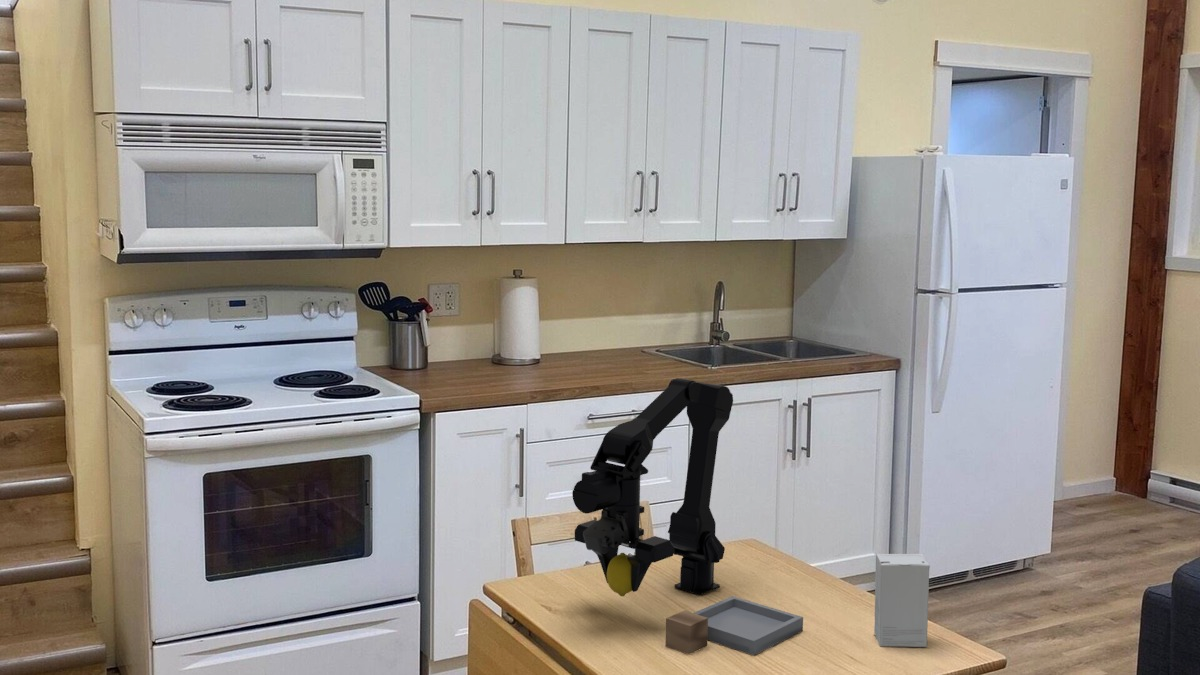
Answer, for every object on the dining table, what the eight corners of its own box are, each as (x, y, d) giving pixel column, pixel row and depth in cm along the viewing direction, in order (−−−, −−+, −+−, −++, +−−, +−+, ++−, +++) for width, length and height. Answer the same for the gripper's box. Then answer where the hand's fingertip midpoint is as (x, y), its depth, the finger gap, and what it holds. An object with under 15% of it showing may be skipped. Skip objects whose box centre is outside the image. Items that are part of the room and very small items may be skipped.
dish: (732, 609, 217) (732, 596, 216) (802, 630, 207) (803, 617, 207) (681, 631, 206) (682, 617, 205) (753, 655, 196) (753, 641, 195)
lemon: (634, 603, 208) (635, 559, 206) (603, 600, 209) (604, 556, 208) (640, 592, 213) (640, 549, 212) (609, 589, 214) (610, 547, 213)
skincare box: (920, 635, 206) (924, 552, 204) (927, 649, 200) (932, 564, 198) (871, 633, 206) (875, 551, 204) (877, 647, 200) (881, 562, 198)
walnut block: (683, 638, 203) (684, 610, 202) (707, 646, 200) (707, 617, 199) (665, 646, 199) (666, 618, 199) (689, 654, 196) (689, 626, 195)
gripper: (553, 500, 209) (552, 585, 211) (634, 522, 196) (632, 612, 198) (596, 488, 217) (594, 571, 219) (676, 508, 205) (674, 595, 207)
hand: (622, 587), depth 211 cm, fingers closed on lemon, 5 cm apart
